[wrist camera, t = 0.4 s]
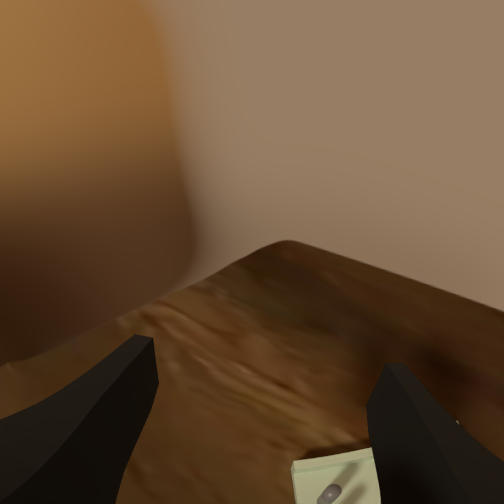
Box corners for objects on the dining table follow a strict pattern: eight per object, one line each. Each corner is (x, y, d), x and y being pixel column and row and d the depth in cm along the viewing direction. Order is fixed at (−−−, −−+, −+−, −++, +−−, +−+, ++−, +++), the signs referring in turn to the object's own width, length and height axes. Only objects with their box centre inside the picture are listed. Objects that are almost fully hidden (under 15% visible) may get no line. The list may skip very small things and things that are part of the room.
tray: (477, 512, 15) (505, 496, 13) (305, 571, 14) (315, 571, 12) (447, 431, 23) (468, 408, 21) (290, 469, 22) (296, 451, 20)
